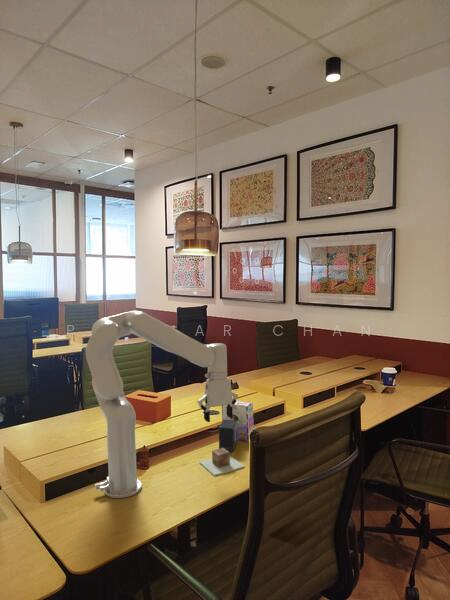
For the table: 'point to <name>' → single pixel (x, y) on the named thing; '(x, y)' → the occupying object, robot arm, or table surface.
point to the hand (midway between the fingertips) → (218, 418)
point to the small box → (228, 435)
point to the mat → (218, 471)
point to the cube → (221, 457)
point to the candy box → (241, 418)
